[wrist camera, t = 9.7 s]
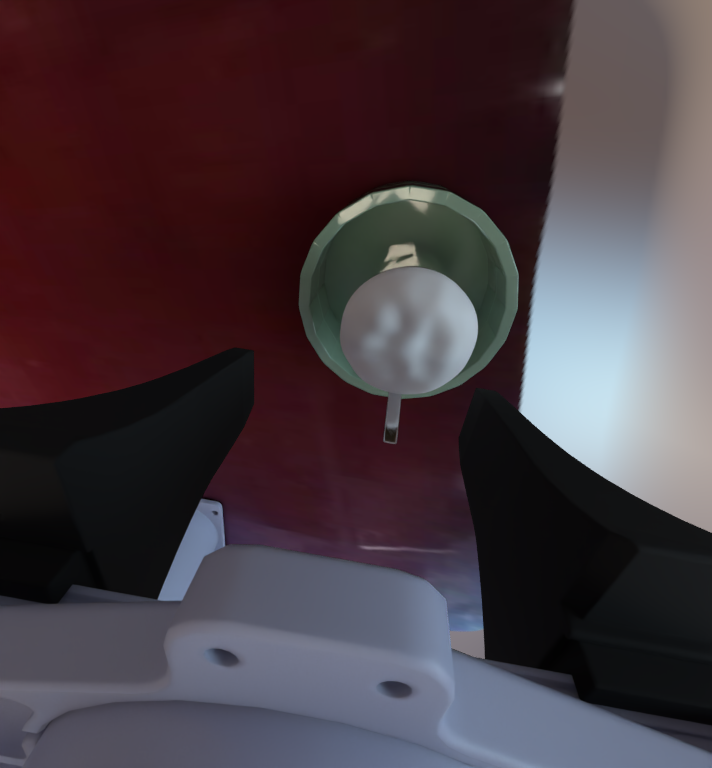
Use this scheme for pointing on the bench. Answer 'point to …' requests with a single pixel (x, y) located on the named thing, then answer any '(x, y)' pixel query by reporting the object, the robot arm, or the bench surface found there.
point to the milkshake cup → (407, 327)
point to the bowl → (428, 229)
